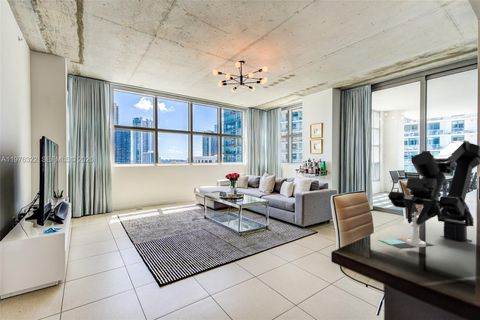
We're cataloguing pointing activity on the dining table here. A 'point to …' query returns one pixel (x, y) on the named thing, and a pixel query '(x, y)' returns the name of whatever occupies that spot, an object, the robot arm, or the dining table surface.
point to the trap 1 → (404, 246)
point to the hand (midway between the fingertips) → (413, 223)
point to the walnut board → (405, 242)
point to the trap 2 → (428, 244)
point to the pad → (393, 241)
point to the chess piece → (415, 234)
